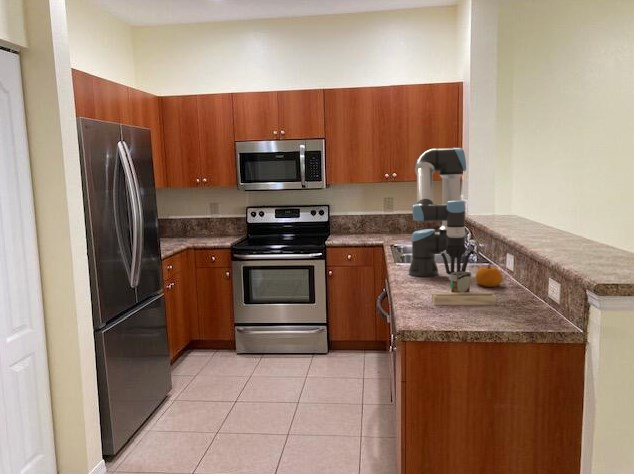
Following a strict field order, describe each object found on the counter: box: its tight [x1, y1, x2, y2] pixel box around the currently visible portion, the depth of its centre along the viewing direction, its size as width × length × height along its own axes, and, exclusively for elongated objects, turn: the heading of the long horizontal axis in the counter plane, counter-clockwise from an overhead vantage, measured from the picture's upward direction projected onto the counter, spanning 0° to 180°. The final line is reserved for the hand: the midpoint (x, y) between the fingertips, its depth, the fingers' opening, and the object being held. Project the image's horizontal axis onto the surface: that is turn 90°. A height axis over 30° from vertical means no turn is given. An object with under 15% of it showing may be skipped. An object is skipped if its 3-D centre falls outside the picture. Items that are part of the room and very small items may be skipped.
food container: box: [448, 271, 472, 293], centre depth 203 cm, size 12×6×10 cm, turn 134°
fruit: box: [475, 264, 503, 288], centre depth 221 cm, size 12×12×10 cm
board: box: [431, 291, 497, 306], centre depth 194 cm, size 6×24×4 cm, turn 85°
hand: (455, 289), depth 209 cm, fingers closed
